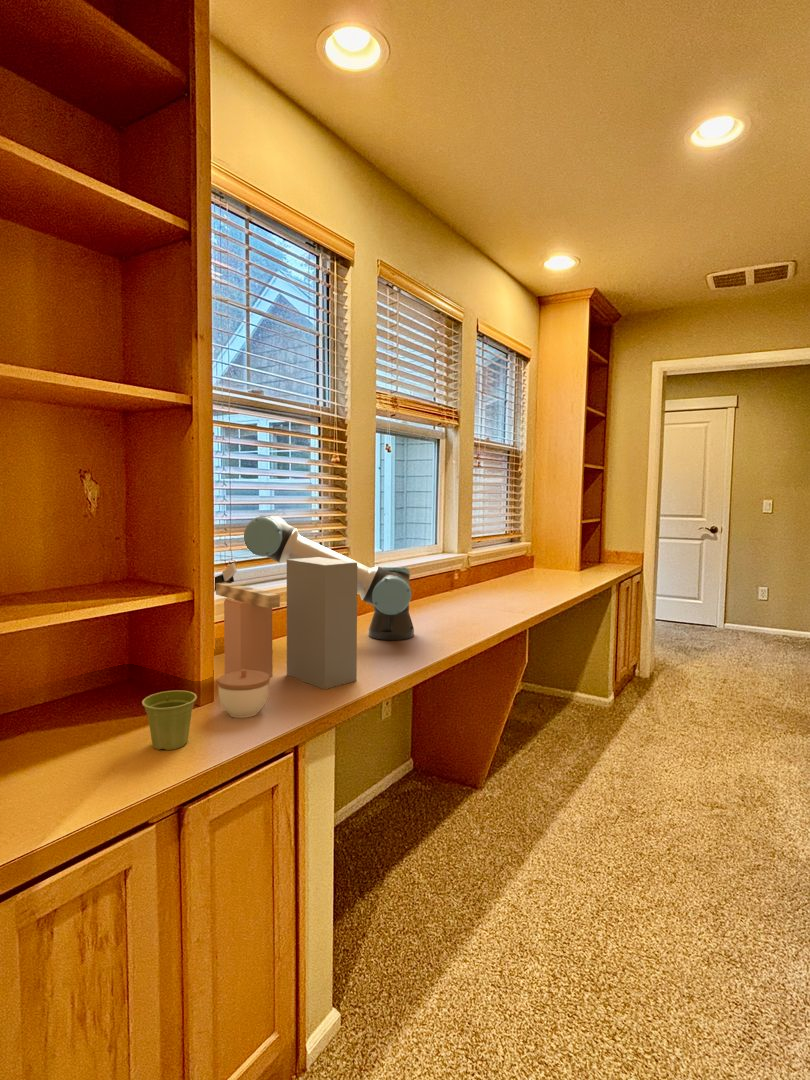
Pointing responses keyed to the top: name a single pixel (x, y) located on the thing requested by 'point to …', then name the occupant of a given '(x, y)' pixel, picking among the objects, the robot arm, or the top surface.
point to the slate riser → (322, 621)
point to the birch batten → (248, 595)
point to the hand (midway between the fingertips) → (212, 569)
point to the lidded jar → (243, 692)
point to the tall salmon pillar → (247, 637)
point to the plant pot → (169, 718)
